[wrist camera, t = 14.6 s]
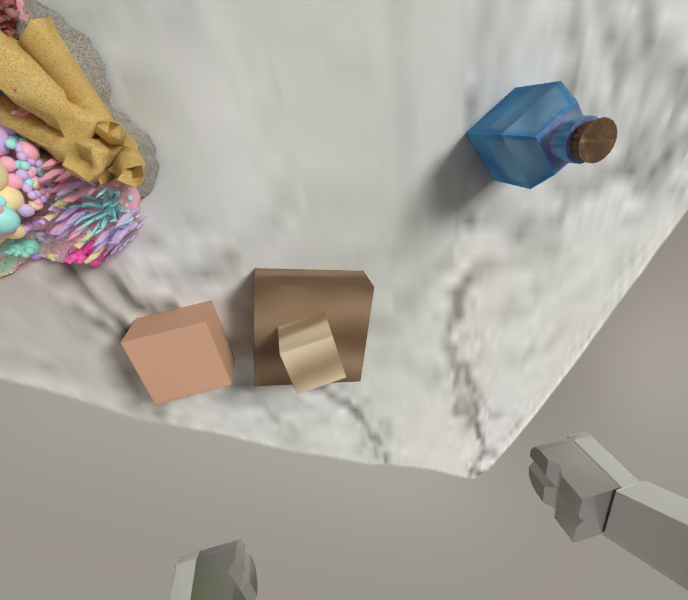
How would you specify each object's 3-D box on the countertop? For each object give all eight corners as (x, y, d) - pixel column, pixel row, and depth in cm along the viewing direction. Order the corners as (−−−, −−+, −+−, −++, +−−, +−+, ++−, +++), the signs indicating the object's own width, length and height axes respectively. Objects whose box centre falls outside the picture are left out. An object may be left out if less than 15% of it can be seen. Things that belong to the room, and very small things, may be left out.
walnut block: (254, 266, 39) (253, 285, 34) (362, 269, 41) (374, 286, 37) (255, 359, 44) (254, 386, 39) (351, 356, 46) (360, 381, 42)
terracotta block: (136, 317, 38) (120, 342, 34) (211, 299, 39) (205, 321, 35) (166, 375, 42) (155, 404, 38) (234, 357, 43) (231, 384, 38)
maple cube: (277, 326, 37) (279, 354, 32) (324, 311, 37) (332, 336, 33) (293, 363, 39) (297, 394, 35) (336, 349, 39) (346, 377, 35)
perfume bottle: (465, 132, 37) (548, 136, 26) (515, 87, 36) (621, 72, 25) (493, 179, 39) (577, 200, 29) (540, 139, 38) (645, 144, 28)
